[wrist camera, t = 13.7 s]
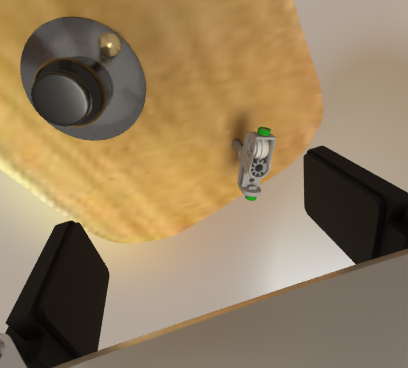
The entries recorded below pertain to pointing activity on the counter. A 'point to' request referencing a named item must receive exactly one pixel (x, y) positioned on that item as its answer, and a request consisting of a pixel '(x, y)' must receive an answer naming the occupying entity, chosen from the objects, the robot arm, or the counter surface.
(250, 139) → the mechanical component
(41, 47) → the plate
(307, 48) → the counter surface
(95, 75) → the supplement bottle
